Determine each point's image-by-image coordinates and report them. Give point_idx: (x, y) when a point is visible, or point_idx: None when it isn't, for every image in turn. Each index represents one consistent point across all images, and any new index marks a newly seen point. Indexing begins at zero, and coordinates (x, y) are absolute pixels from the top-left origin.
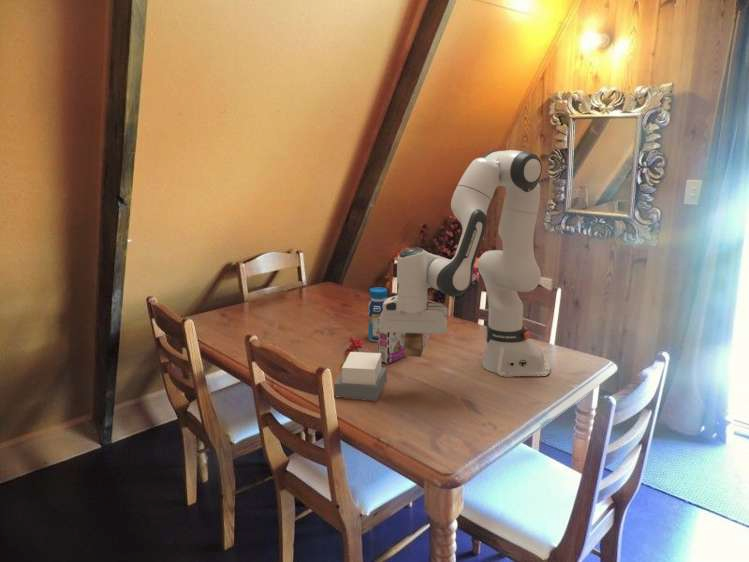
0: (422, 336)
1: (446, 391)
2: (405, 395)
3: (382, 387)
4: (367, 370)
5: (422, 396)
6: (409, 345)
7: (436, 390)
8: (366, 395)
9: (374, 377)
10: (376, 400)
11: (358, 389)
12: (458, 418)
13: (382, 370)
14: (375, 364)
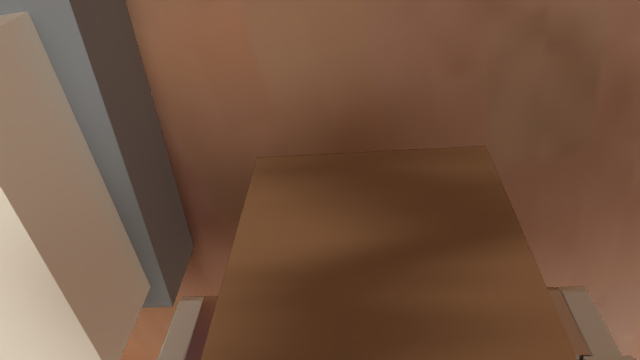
0: (556, 338)
1: (594, 37)
2: None
3: (152, 114)
4: None
5: (429, 145)
6: None
7: (520, 39)
8: None
9: (130, 327)
10: (191, 249)
11: None
12: (617, 304)
13: (69, 65)
14: (63, 314)
